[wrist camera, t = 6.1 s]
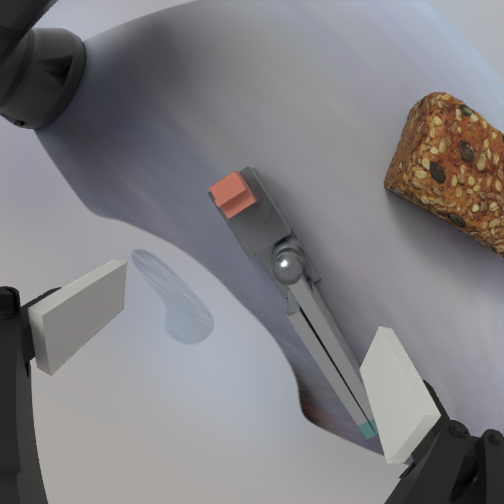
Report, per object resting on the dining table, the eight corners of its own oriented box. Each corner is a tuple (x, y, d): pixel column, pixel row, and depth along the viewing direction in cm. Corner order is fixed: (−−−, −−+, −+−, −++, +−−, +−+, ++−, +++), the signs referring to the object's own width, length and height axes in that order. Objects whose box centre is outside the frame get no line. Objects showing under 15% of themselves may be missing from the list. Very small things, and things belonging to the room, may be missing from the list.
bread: (519, 184, 26) (571, 189, 16) (492, 259, 29) (541, 284, 19) (407, 102, 26) (448, 74, 17) (373, 188, 29) (409, 191, 20)
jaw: (272, 248, 31) (267, 265, 24) (292, 236, 30) (293, 250, 24) (363, 402, 34) (372, 437, 27) (380, 393, 33) (391, 428, 27)
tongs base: (217, 191, 31) (196, 194, 24) (255, 167, 30) (244, 162, 23) (351, 403, 35) (359, 442, 28) (382, 388, 34) (396, 425, 27)
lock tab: (214, 187, 27) (206, 188, 24) (239, 171, 26) (233, 170, 23) (232, 216, 27) (226, 220, 24) (257, 200, 26) (253, 202, 24)
